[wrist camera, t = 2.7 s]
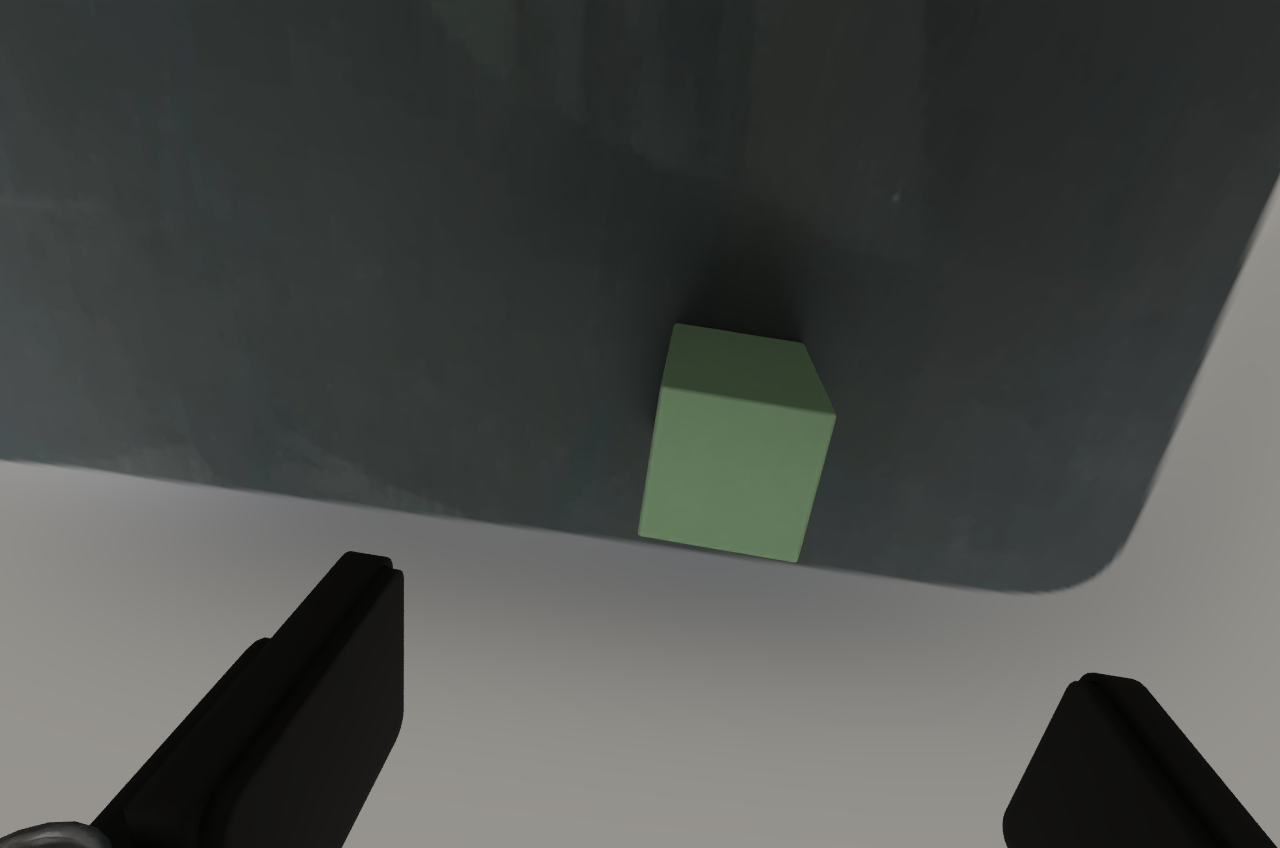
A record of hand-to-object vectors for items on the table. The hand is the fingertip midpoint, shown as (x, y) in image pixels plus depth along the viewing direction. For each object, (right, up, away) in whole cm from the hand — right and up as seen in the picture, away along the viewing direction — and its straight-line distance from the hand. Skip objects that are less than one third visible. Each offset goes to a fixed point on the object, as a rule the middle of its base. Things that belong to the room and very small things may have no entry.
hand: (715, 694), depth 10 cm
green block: (+2, +5, +12) cm, 13 cm away
